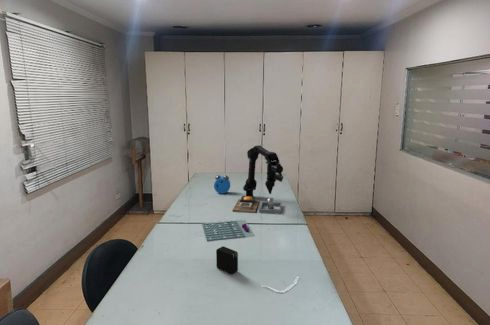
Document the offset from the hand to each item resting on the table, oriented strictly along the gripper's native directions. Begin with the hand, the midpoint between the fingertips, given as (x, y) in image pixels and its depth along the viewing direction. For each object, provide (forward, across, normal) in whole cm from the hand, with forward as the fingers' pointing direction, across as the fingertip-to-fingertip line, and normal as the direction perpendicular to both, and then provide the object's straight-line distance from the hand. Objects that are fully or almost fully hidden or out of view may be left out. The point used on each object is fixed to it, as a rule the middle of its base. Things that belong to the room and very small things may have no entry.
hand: (270, 192), depth 233 cm
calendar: (+14, -39, +23) cm, 48 cm away
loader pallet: (+13, +3, +18) cm, 22 cm away
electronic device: (+13, -85, +13) cm, 87 cm away
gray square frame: (+13, 0, 0) cm, 13 cm away
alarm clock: (+13, +32, +43) cm, 55 cm away
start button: (+11, +10, +18) cm, 23 cm away
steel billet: (+13, 0, 0) cm, 13 cm away
